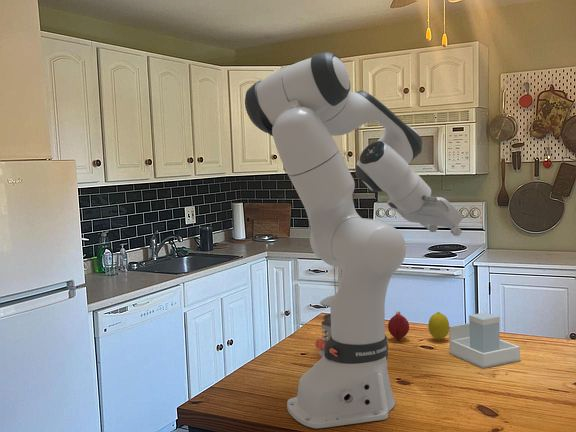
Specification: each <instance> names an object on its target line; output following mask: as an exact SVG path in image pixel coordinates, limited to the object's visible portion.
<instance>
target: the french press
mask: <svg viewBox="0 0 576 432" xmlns="http://www.w3.org/2000/svg"><path fill="white" fill-rule="evenodd" d="M333 277H334V279H333V281H334V295H335V294H336V293H337V291H336V289H337V288H336V267H335V266H333ZM334 295H331V296H327V297H325V298H322V300H320V302H319V304H320V305H321V306H323V307H326V308H330V302H331V299H332V297H333V296H334ZM322 320H323V321H321V329H323V330H321V333H322V334H321V339H322V340H323V341H325V342H326V343H327V342H328V340H329V338H330V336H331V335H332V334H331V313H328V314H324V315H323V316H322ZM318 354H319V355H320V357H321V358H322V357H323V356H324V350H319V352H318Z"/></svg>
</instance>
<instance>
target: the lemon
mask: <svg viewBox="0 0 576 432" xmlns="http://www.w3.org/2000/svg"><path fill="white" fill-rule="evenodd" d="M427 327H428V331H429V334H430V336H432V337H433V338H435V339H436V340H437V341H441V340H442V339H444V338H446V337H447V336H448V335H449V327H450V323H449V319H448V317H447V316H446V315H445V314H443V313H441V312H440V311H437V312H436V313H434V314H432V315H431V316H430V318H429V320H428V325H427Z"/></svg>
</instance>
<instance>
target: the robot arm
mask: <svg viewBox="0 0 576 432" xmlns="http://www.w3.org/2000/svg"><path fill="white" fill-rule="evenodd" d="M244 105H245V106H244V107H245V112H246V113H247V116H248V118H249V119H250V121H251V122H252V125H254V126H256V128H257V129H259V130H260V131H262V132H264V133H266V134H268V135H270V136H272V137H273V141H274V145H275V147H276V150H277V154H278V157H279V158H280V161H281V163H282V165H283V167H284V169H285V172H286V173H287V176H288V177H289V179H290V182H291V183H292V185H293V186H294V189H295V191H296V193H297V194H298V197H299V199H300V201H301V203H302V205H303V207H304V210H305V212H306V215H307V218H308V221H309V222H308V223H309V227H310V231H311V232H310V236H309V244H310V248H311V249H312V252H313V253H314V254H315V256H317V258H319V259H320V260H321V261H323V263H326V264H327V265H330V266H332V267H334V266H335V268H340V271H341V275H340V276H341V277H340V280H339V281H340V283H339V285H338V290H337V291H336V294H335V293H334V294H333V295H332V296H333V297H332V299H331V302H330V307H329V308H330V314H331V334H332V335H331V336H330V338H329V340H328V342H325V341H323V340H324V339H323V338H317V339H315V341H314V346H315V348H316V349H318V350H319V351H321V350H324V356H323V357H322V356H321V358H320V359H319V360H318V361H317V362H316V363H314V365H312V366H311V367H310V368H309V369H308V370H307V371H306V372H305V373H304V374H302V375H301V376H300V379H299V382H298V386H297V394H296V396H295V397H291V398H289V399H288V400H287V402H286V409H287V412H288V413H289V415H290V416H291V417H292V418H293V419H295V421H296V422H298V423H300V424H301V425H303V426H305V427H308V428H311V429H324V428H325V429H326V428H333V427H339V426H346V425H354V424H355V425H356V424H363V423H368V422H376V421H383V420H387V419H388V418H389V412H390V411H391V410H392V409H393V408H394V406H395V405H396V400H395V397H394V393H393V390H392V387H391V382H390V377H389V372H388V371H389V370H388V363H387V361H388V356H389V348H388V346H389V344H388V335H386V327H385V325H386V322H385V321H386V319H385V317H386V313H385V306H386V304H385V303H386V295H387V291H388V287H389V284H390V281H391V278H392V276H393V275H394V274H395V272H397V271H398V270H399V268H401V266H402V265H403V262H404V260H405V257H406V253H407V251H406V250H407V245H406V241H405V238H404V236H403V234H402V233H401V231H399V230H398V229H397V228H396V227H394V226H392V225H390V224H388V223H386V222H384V221H382V220H379V219H378V220H377V219H371V218H363V217H361V216H360V215H359V214H358V212H357V211H356V208H355V203H354V198H353V197H354V196H353V194H354V191H355V187H356V182H355V180H354V177H353V176H352V173H351V172H350V169H349V167H348V166H347V163H346V162H345V159H344V157H343V155H342V153H341V151H340V149H339V147H338V145H337V143H336V141H335V139H334V138H333V137H334V136H336V137H337V136H338V137H339V136H343V135H346V134H349V133H351V132H353V131H354V130H356V129H358V128H359V127H361V126H363V125H365V124H368V123H370V122H372V121H373V122H374V121H375V122H376V123H377V124H379V125H380V126H382V128H384V132H383V134H382V135H381V137H380V138H379V139H378V140H377V141H373V142H371V143H369V144H368V145H367V146H366V147H365V148H364V149H363V150H362V152H361V153H360V156H359V158H358V160H357V162H356V164H355V167H354V168H355V177H356V178H357V179H359V180H361V182H362V183H363V184H364V185H365V186H366V188H367V189H368V191H370V192H374V193H377V192H378V193H380V192H381V193H382V192H385V193H386V194H387V196H388V197H389V199H388V200H387V201H386V204H387V205H388V206H389V207H390V208H392V209H394V210H395V211H396V212H397V214H399V215H400V216H401V217H402V218H403V219H404V220H406V221H408V222H409V223H416V224H420V225H421V226H422V227H424V228H426V229H427V230H428V231H429V232H431V233H436V232H437V230H438V229H439V227H443V228H444V227H445V228H448V229H450V230H451V231H450V233H451V234H452V235H453V236H455V237H460V235H461V234H462V233H463V231H462V229H461V228H460V227H459V225H460V223H462V221H463V214H462V212H460V211H459V210H458V209H457V208H456V207H455V206H454V205H453V204H452V203H450V201H449V200H447V199H445V198H444V197H439V196H431V195H432V188H431V187H430V186H429V185H428V183H427V182H425V180H424V179H423V178H422V176H420V175H419V174H418V173H417V172H415V171H413V170H412V168H411V166H410V165H409V163H411V162H412V161H413V160H414V159H416V157H418V156H419V155H421V153H422V151H423V150H422V149H423V139H422V137H421V135H420V134H419V132H418V131H417V130H416V129H414V128H413V127H412V126H410V125H408V124H406V123H405V122H404V121H403V120H402V119H400V118H399V117H398V116H397V114H395V113H394V112H393V111H391V110H390V109H389V108H388V107H387V106H385V104H384V103H382V102H381V101H380V100H379V99H377V98H376V97H375V96H374V95H372V94H370V93H369V92H367V91H364V90H362V89H361V90H358V91H356V92H355V91H351V80H350V75H349V71H348V69H347V67H346V65H345V64H344V62H343V61H342V60H341V58H340V57H339V56H338V55H337V54H336V53H335V54H334V53H332V52H329V51H325V52H320V53H316V54H313V55H312V56H311V57H309V58H306V59H303V60H300V61H298V62H296V63H293V64H290V65H289V66H284V67H282V68H280V69H278V70H276V71H275V72H273V73H271V74H269V75H268V76H266V77H265V78H263V79H262V80H258V81H256V82H255V83H254V84H252V85H251V86H250V87H249V88H248V89H247V90H246V91H245V97H244Z"/></svg>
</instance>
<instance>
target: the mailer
mask: <svg viewBox="0 0 576 432" xmlns="http://www.w3.org/2000/svg"><path fill="white" fill-rule="evenodd" d="M448 339H449V354H450V355H452V356H454V357H457V358H459V359H461V360H463V361H465V362H468V363H470V364H472V365H474V366H476V367H478V368H481V369H483V370H484V369H488V368H493V367H498V366H503V365H507V364H510V363H511V364H512V363H515V362H519V361H521V346H519V345H516V344H513V343H512V342H510V341H509V342H508V341H506V340H504V339H500V350H496V351H491V352H487V353H482V352H479V351H477V350H475V349H472V348H470V327H469V322H468V323H462V324H457V325H451V326H450V325H449V332H448Z"/></svg>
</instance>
